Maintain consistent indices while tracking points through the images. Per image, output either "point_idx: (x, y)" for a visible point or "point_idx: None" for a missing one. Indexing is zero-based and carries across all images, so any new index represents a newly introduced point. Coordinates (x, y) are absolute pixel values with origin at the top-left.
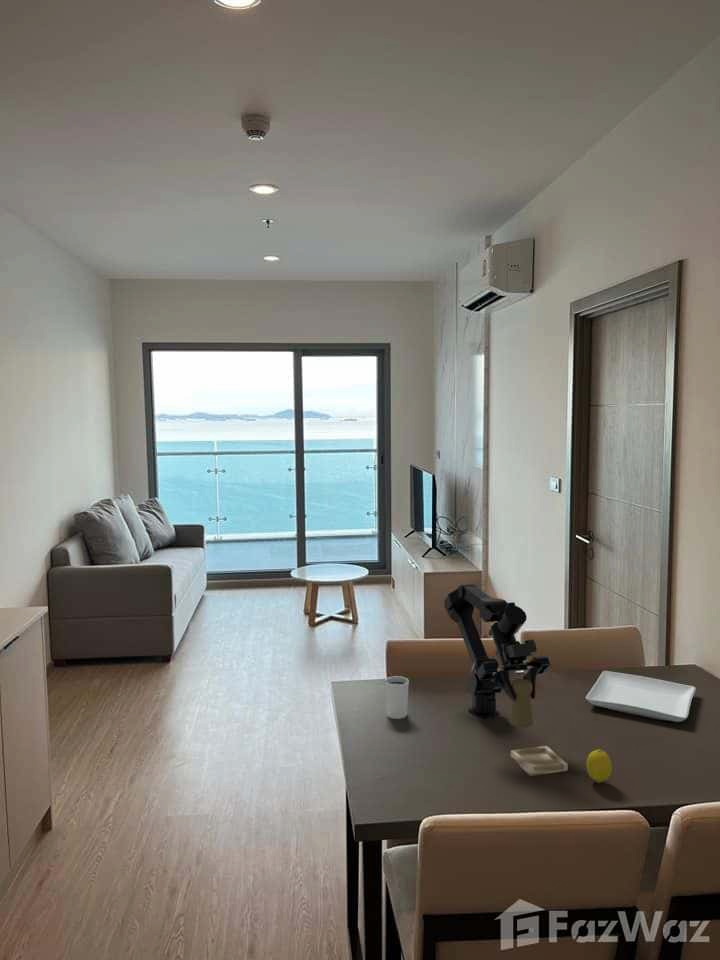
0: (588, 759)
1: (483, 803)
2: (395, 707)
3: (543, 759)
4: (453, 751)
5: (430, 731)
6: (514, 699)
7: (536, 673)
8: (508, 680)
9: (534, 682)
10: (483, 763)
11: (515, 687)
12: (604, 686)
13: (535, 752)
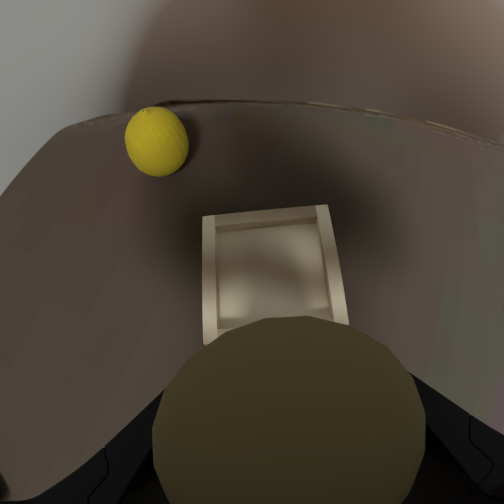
0: (177, 130)
1: (440, 144)
2: None
3: (248, 285)
4: (486, 377)
5: None
6: None
7: (8, 501)
8: (486, 469)
9: (100, 458)
10: (432, 300)
11: (412, 378)
12: None
13: None
